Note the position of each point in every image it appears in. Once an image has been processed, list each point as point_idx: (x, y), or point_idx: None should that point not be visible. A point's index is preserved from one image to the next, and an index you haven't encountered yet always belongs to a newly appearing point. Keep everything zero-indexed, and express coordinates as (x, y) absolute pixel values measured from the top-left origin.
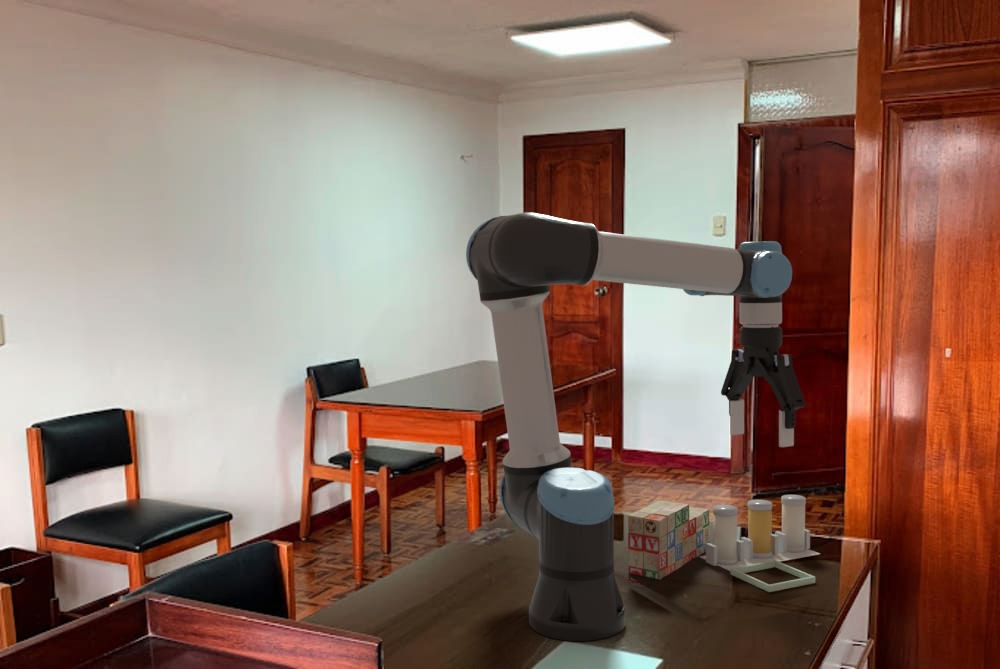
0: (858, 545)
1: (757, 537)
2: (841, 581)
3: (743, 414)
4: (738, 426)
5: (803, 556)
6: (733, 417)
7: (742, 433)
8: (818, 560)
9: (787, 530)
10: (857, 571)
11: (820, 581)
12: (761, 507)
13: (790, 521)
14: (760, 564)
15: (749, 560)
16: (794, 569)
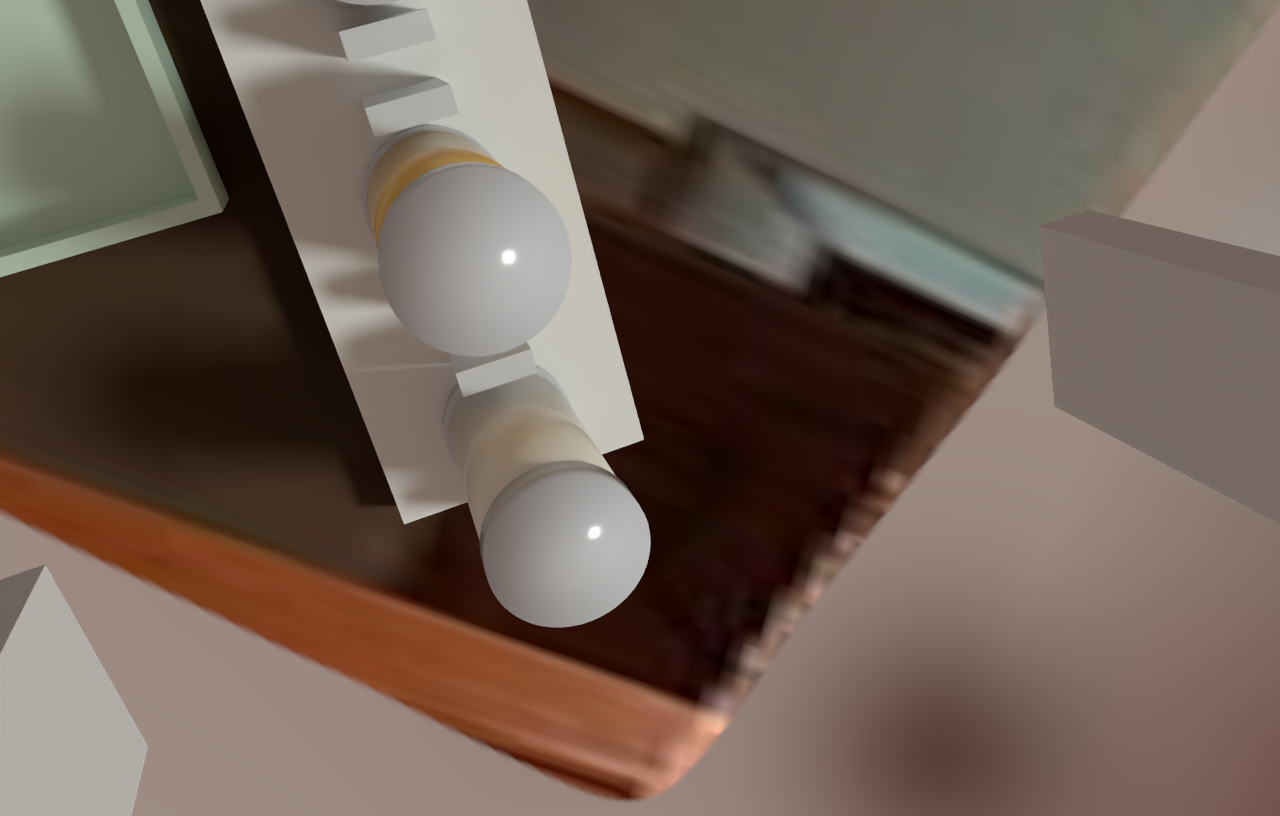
0: (606, 747)
1: (383, 175)
2: (70, 492)
3: (1271, 508)
4: (1126, 353)
5: (371, 424)
6: (1246, 301)
7: (1058, 384)
8: None
9: (489, 415)
10: (228, 620)
11: (76, 389)
12: (382, 236)
13: (484, 451)
14: (150, 85)
15: (344, 92)
16: (20, 251)
